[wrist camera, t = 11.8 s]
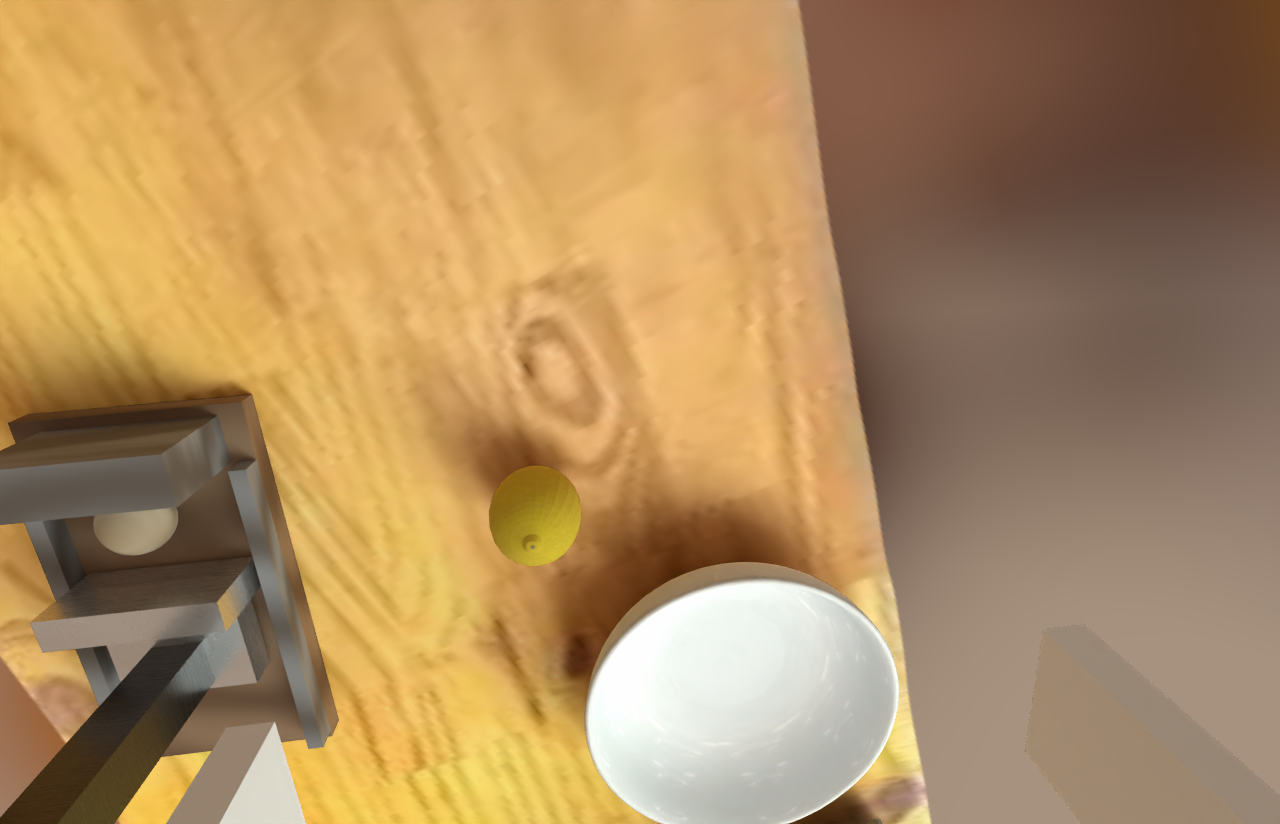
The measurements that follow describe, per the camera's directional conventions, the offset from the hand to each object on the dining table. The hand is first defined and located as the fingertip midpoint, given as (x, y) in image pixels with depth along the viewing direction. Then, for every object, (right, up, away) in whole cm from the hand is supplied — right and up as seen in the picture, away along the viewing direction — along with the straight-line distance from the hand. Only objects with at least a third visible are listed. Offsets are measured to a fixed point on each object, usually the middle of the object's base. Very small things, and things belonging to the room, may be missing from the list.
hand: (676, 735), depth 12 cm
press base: (-30, -6, +34) cm, 45 cm away
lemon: (-7, +1, +34) cm, 35 cm away
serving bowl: (+6, -12, +40) cm, 42 cm away
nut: (-30, -1, +28) cm, 41 cm away
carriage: (-30, -8, +33) cm, 45 cm away
